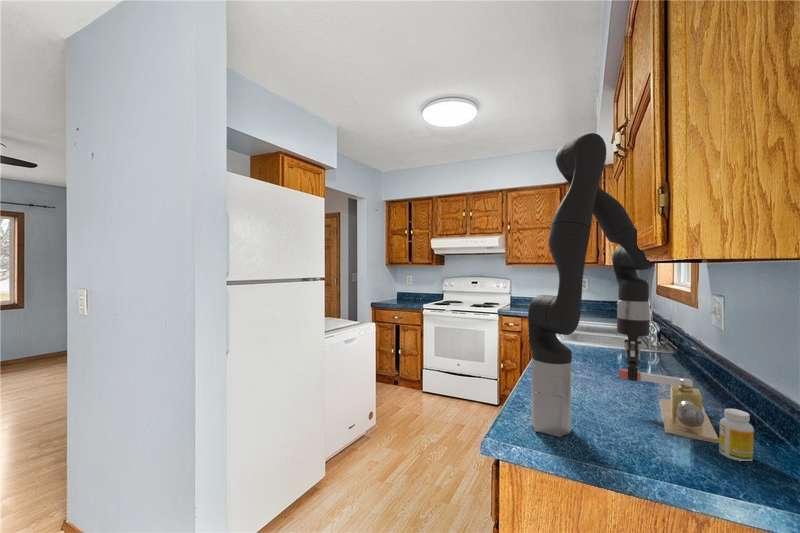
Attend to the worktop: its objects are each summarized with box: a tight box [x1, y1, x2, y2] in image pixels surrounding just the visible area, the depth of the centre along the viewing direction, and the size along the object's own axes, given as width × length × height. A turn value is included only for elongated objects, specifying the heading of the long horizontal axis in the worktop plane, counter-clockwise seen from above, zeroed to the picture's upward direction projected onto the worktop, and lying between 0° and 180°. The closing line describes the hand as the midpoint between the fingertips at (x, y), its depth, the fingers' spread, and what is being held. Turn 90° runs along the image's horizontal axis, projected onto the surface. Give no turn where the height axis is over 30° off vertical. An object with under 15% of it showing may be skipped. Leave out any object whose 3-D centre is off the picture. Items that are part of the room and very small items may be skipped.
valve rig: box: [659, 385, 719, 444], centre depth 96 cm, size 24×10×9 cm, turn 147°
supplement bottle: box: [718, 408, 755, 462], centre depth 78 cm, size 5×5×10 cm
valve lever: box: [619, 368, 694, 388], centre depth 99 cm, size 16×3×2 cm, turn 57°
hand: (632, 379), depth 99 cm, fingers closed
